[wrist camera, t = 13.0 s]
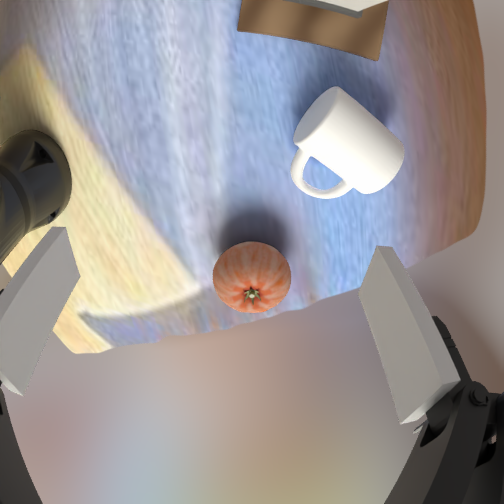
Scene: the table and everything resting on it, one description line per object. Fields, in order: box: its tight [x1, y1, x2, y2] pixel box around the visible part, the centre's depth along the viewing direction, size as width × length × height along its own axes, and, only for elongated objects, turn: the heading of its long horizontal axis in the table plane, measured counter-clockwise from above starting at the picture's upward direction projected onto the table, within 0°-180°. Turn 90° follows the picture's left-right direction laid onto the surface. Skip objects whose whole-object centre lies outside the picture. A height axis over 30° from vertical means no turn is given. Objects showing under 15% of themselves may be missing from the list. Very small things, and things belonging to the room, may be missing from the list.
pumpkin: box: [213, 241, 291, 313], centre depth 41 cm, size 11×11×8 cm
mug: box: [291, 86, 404, 199], centre depth 31 cm, size 12×10×8 cm
